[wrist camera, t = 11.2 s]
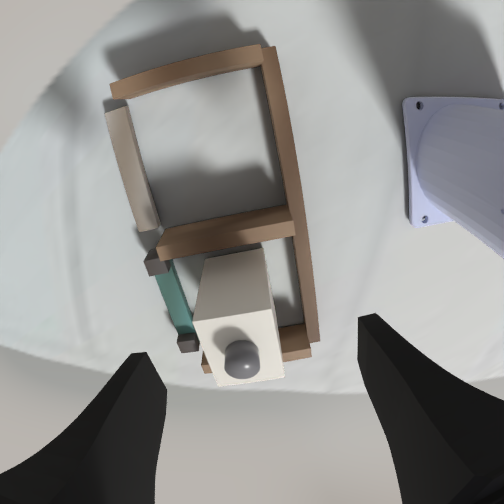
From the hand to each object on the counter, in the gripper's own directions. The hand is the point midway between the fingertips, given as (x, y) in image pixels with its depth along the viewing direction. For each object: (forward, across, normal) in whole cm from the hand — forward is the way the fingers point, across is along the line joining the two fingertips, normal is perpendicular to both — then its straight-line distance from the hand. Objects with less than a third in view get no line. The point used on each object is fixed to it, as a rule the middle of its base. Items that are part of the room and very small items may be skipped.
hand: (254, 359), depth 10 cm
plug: (+10, +1, +3) cm, 10 cm away
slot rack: (+9, +1, -1) cm, 10 cm away
